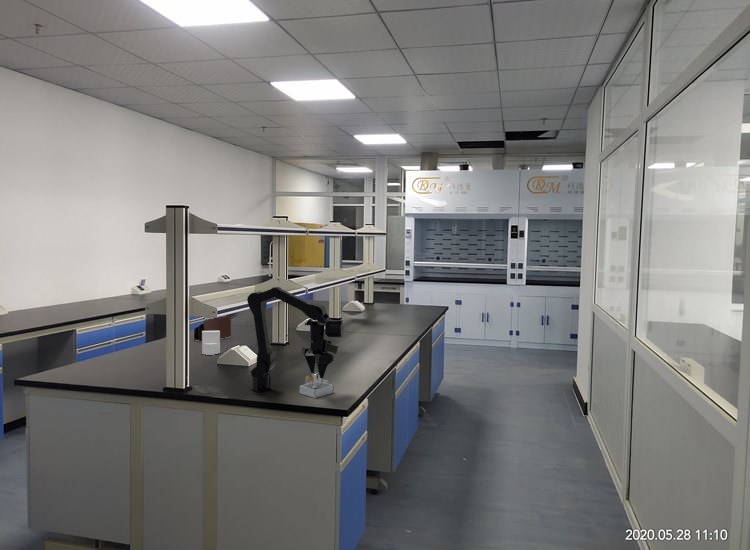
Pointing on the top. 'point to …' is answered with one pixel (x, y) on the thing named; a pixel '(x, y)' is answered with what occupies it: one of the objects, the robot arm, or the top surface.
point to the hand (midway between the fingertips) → (317, 375)
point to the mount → (321, 381)
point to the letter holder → (214, 327)
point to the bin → (316, 393)
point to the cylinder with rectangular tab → (210, 342)
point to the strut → (314, 380)
